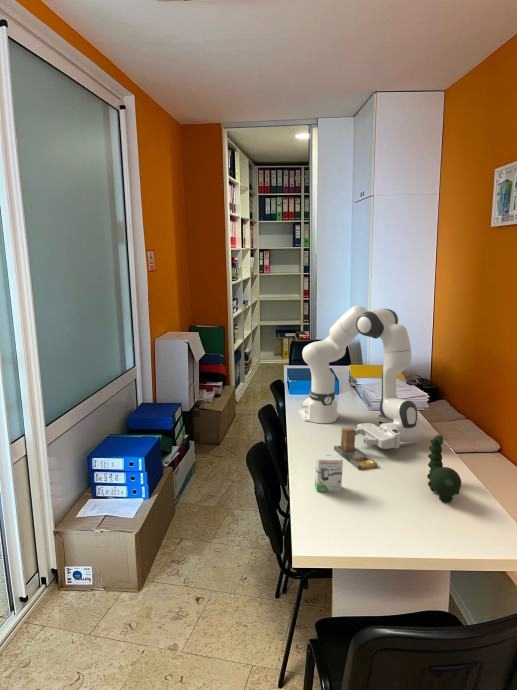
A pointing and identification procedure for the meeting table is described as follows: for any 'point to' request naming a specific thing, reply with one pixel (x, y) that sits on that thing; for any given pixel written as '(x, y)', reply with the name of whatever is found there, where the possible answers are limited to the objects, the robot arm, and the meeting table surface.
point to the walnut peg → (347, 439)
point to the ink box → (328, 472)
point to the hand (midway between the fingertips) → (358, 437)
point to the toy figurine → (442, 473)
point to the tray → (357, 458)
